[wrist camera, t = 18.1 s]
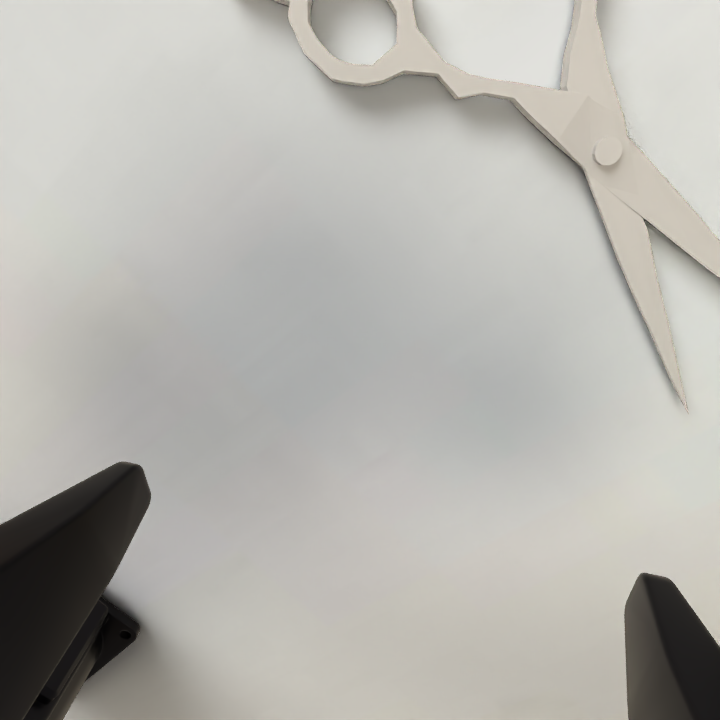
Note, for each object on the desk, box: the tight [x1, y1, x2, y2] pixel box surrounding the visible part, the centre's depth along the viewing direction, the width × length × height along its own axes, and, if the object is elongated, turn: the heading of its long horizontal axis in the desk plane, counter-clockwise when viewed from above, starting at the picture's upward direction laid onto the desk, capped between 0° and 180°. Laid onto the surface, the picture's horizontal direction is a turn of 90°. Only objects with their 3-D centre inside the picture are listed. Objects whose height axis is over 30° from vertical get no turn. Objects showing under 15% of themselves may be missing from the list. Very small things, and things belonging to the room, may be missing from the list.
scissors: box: [273, 0, 720, 414], centre depth 15 cm, size 11×1×20 cm
